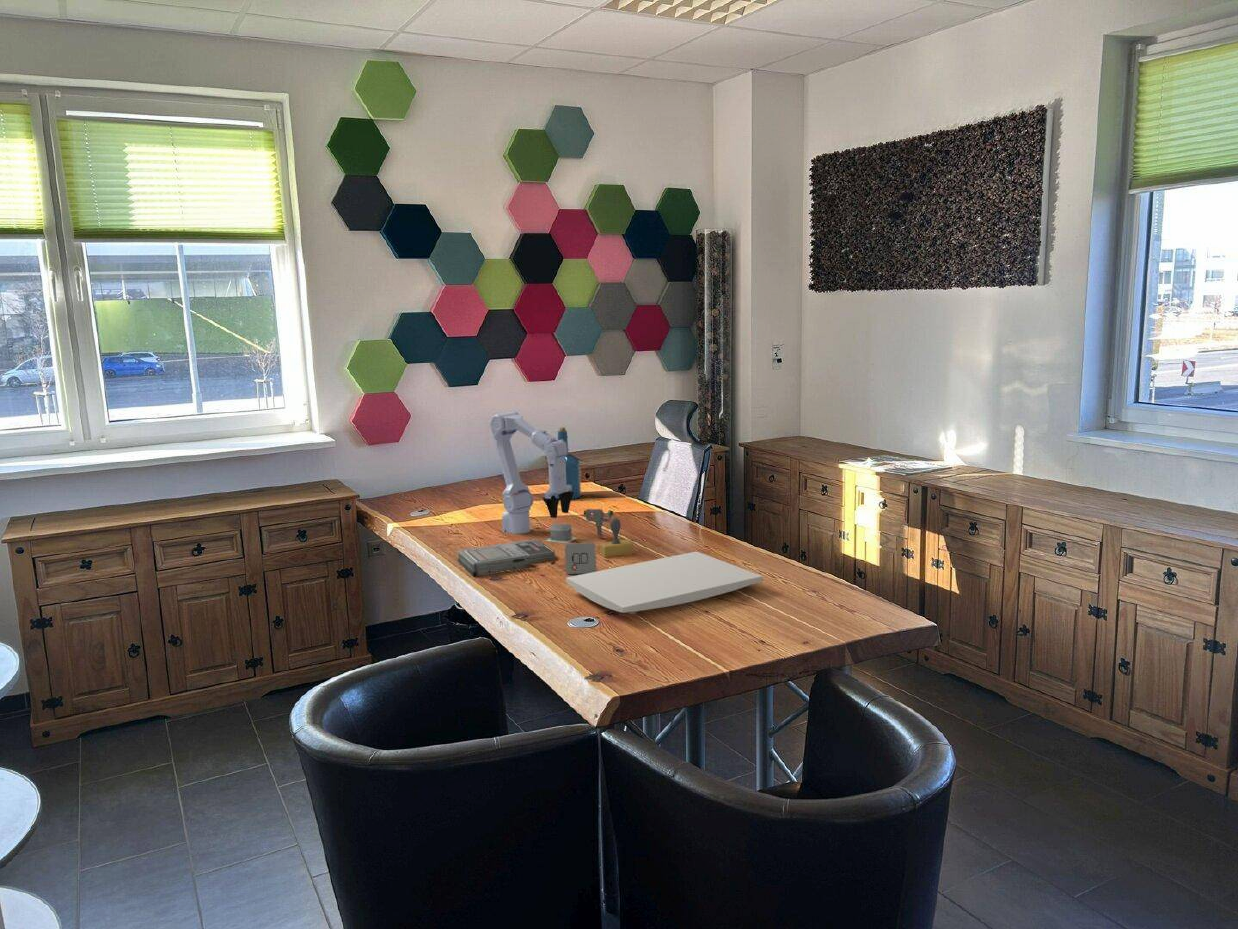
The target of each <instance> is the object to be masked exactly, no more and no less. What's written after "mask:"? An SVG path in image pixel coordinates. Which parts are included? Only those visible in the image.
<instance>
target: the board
mask: <svg viewBox="0 0 1238 929" xmlns="http://www.w3.org/2000/svg"><path fill="white" fill-rule="evenodd" d="M762 581H763V575H760V574H758V573H756V572H752V571H750V570H747V569H744V568H741V567H739V566H736V565H734V564H731V563H728V562H726V561H723V560H720V559H717V558H715V557H713V556H710V555H707V554H705V553H703V552H702V553H701V552H699V551H693V552H688V553H683V554H682V553H681V554H677V555H673V556H672V555H671V556H668V557H667V556H666V557H662V558H657V559H653V560H648V561H642V562H637V563H632V564H628V565H622V566H618V567H612V568H608V569H607V568H606V569H603V570H596V572H592V573H587V574H576V575H572V576H569V577H565V583H566V584H568V585H569V586H570V587H571V588H573V589H574V590H575V591H577V592H578V593H579V594H581V595H582V596H583V597H586V598H587V599H588V600H590V601H592V602H594V603H595V604H598V605H600V606H602V607H604V608H607V609H609V610H612V611H616V612H619V613H628V614H630V615H635V614H636V613H637V612H639V611H647V610H654V609H661V608H666V607H671V606H677V605H682V604H687V603H690V602H691V603H692V602H696V601H700V600H703V599H708V598H711V597H715V596H718V595H719V596H720V595H722V594H726V593H730V592H734V591H736V590H739V589H742V588H743V589H744V588H745V587H749V586H751V585H754V584H757V583H760V582H762Z"/></svg>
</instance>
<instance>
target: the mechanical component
mask: <svg viewBox="0 0 1238 929" xmlns="http://www.w3.org/2000/svg"><path fill="white" fill-rule="evenodd" d="M603 511H604V510H603V509H602V508H601V509H600V508H597V509H596V508H594V509H593V508H590V509H589V508H588V509H587V508H586V510H583V515H584V516H585V520H586V521H587V522H595V524H594V525H595V527H596V534H597V535H598V536H599V535H600V536H602V535H603V534H602V533H603V532H602V526H603V523H606V522H610V521H611V520H612V517H613V516H614V510H611V509H609V510H608V511H607V513H605V512H603ZM592 515H593V516H592ZM604 517H605V518H604ZM606 517H608V518H606Z"/></svg>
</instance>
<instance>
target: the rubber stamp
mask: <svg viewBox="0 0 1238 929" xmlns="http://www.w3.org/2000/svg"><path fill="white" fill-rule="evenodd" d="M609 527H610V529H611V530H610V531H611V532H612V534H613V540H612V541H611V540H610V541H605V542H603V541H602V542H599V544H598V545H599V554H600V553H601V554H602V555H603V556H604V557H603V556H602V555H601V554H600V555H601V556H602V557H603V558H605V557H606V558H612V557H613V556H614V557H620V555H621V556H627V555H626V554H629V555H634V554H633V553H634V543H633V542H632V541H630V540H628V539H621V540H620V539H619V538H618V537H619V533H620V530H621V527H622V526H621V521H620V519H619V518H617V517H615V518H611V519H610V521H609Z"/></svg>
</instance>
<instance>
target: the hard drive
mask: <svg viewBox="0 0 1238 929" xmlns="http://www.w3.org/2000/svg"><path fill="white" fill-rule="evenodd" d="M457 553H458V558H457V563H458V562H459V563H458V564H459V565H460V564H461V565H462V566H463V567H464V568H465V570H466V572H468V573H469V574H470V575H471V576H472V577H474V578H475V577H479V575H482V576H486V575H485V574H488V575H491V574H490V573H494V574H497V573H496V572H501V571H507V570H513V571H519V570H518V569H520V570H524V568H526V569H530V567H532V568H536V567H535V566H538V565H537V564H535V563H540V562H546V561H552V562H551V563H549V564H551V565H555V564H556V561H555V559H556V557H555V556H556V555H555V549H552V548H551V547H549V546H548V545H546V544H545V543H543V542H542V541H540V540H539V539H537V538H536V539H534V538H533V539H528V540H518V541H513V542H507V543H499V544H494V545H493V544H491V545H486V546H478V547H472V548H466V549H465V548H464V549H459V550H458V552H457ZM553 560H554V561H553ZM533 563H534V564H533ZM461 565H460V566H461ZM462 566H461V567H462ZM463 567H462V568H463ZM507 572H508V571H507ZM501 573H502V572H501Z"/></svg>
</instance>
